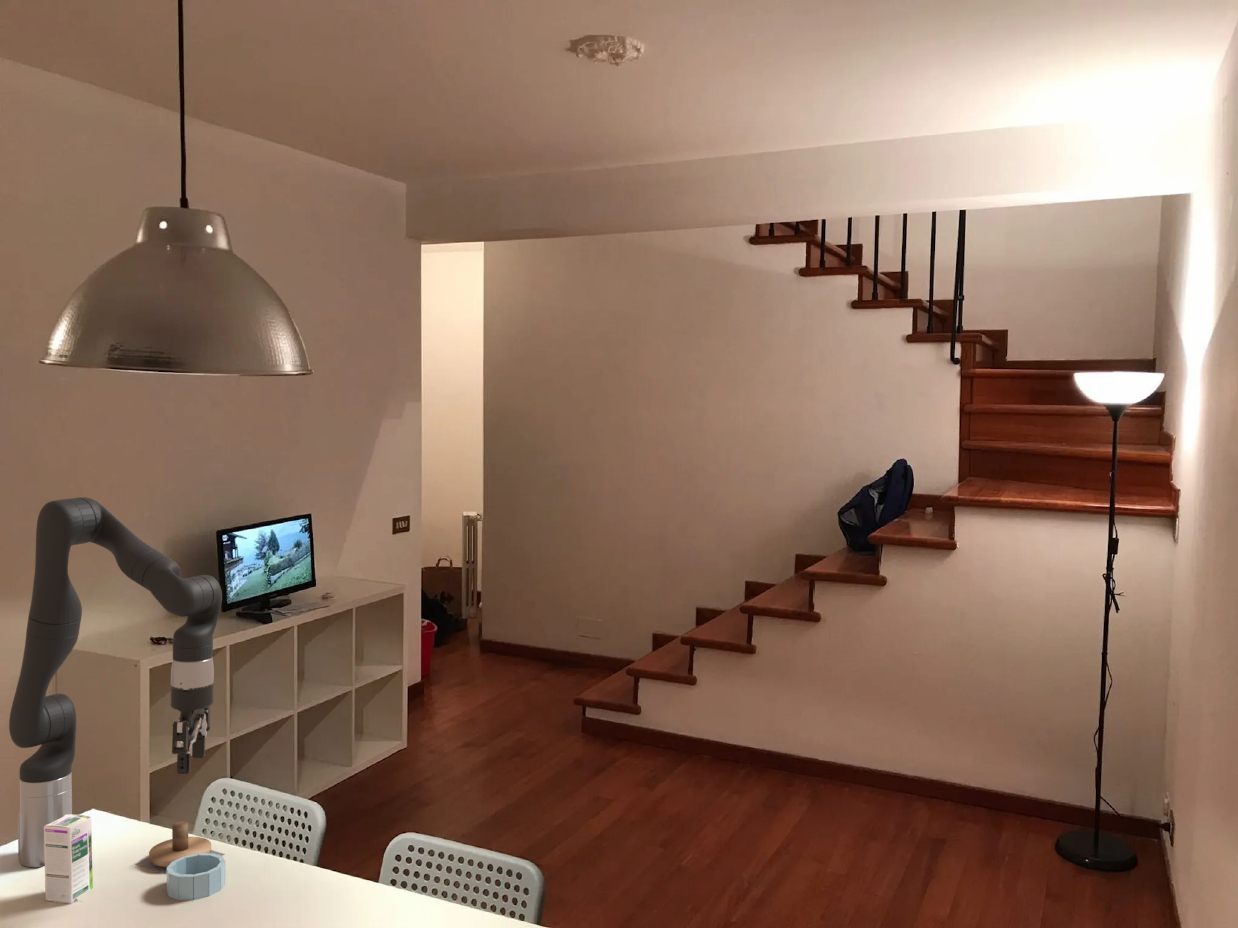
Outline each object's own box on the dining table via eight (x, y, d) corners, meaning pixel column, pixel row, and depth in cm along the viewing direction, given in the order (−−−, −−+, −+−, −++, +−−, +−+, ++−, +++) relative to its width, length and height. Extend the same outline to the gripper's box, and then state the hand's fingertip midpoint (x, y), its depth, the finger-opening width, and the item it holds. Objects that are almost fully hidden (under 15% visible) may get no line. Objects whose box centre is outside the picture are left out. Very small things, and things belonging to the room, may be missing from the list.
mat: (134, 866, 201) (134, 863, 201) (184, 844, 212) (184, 841, 212) (175, 879, 196) (175, 876, 196) (225, 856, 207) (225, 853, 207)
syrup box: (71, 904, 186) (70, 827, 185) (43, 900, 187) (43, 824, 186) (93, 890, 191) (92, 815, 191) (66, 887, 192) (65, 812, 192)
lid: (136, 863, 202) (136, 828, 201) (184, 842, 212) (184, 809, 212) (175, 876, 196) (175, 840, 196) (223, 854, 207) (223, 819, 206)
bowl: (155, 894, 190) (155, 868, 190) (199, 873, 199) (199, 849, 199) (192, 907, 185) (192, 880, 185) (236, 885, 194) (236, 859, 194)
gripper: (184, 671, 197) (183, 752, 198) (158, 691, 183) (157, 778, 184) (224, 671, 198) (222, 752, 199) (200, 691, 184) (199, 778, 184)
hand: (191, 764), depth 191 cm, fingers open, 8 cm apart
